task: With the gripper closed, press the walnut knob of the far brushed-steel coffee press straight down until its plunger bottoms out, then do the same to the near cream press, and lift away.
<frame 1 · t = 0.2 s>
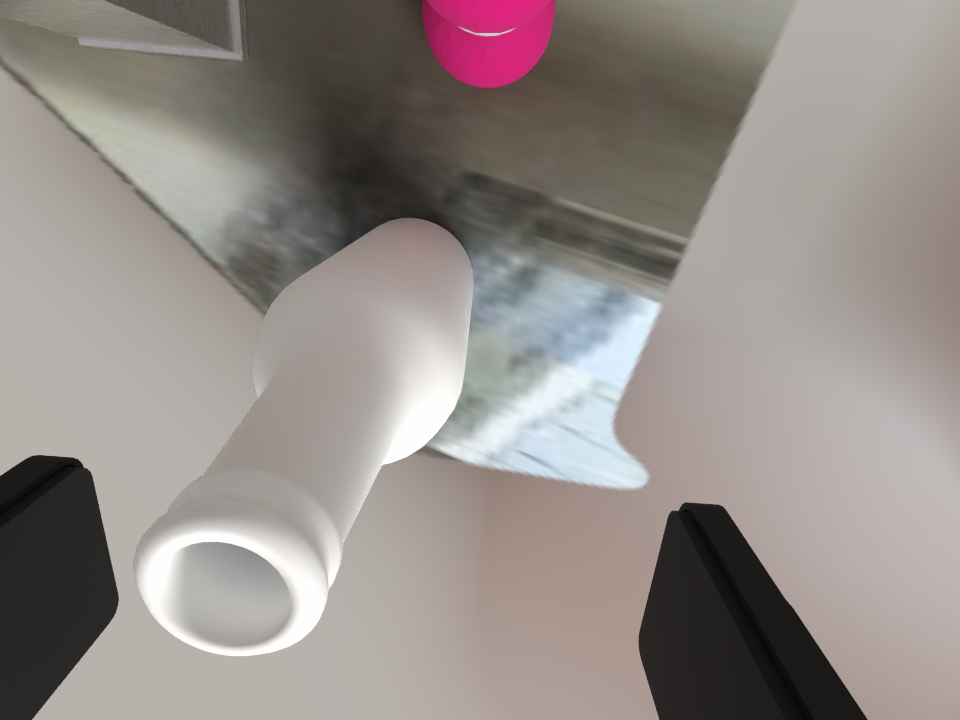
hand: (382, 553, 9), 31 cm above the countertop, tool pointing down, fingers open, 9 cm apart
alcohol: (413, 277, 39), on the countertop
pepper mill: (488, 31, 33), on the countertop
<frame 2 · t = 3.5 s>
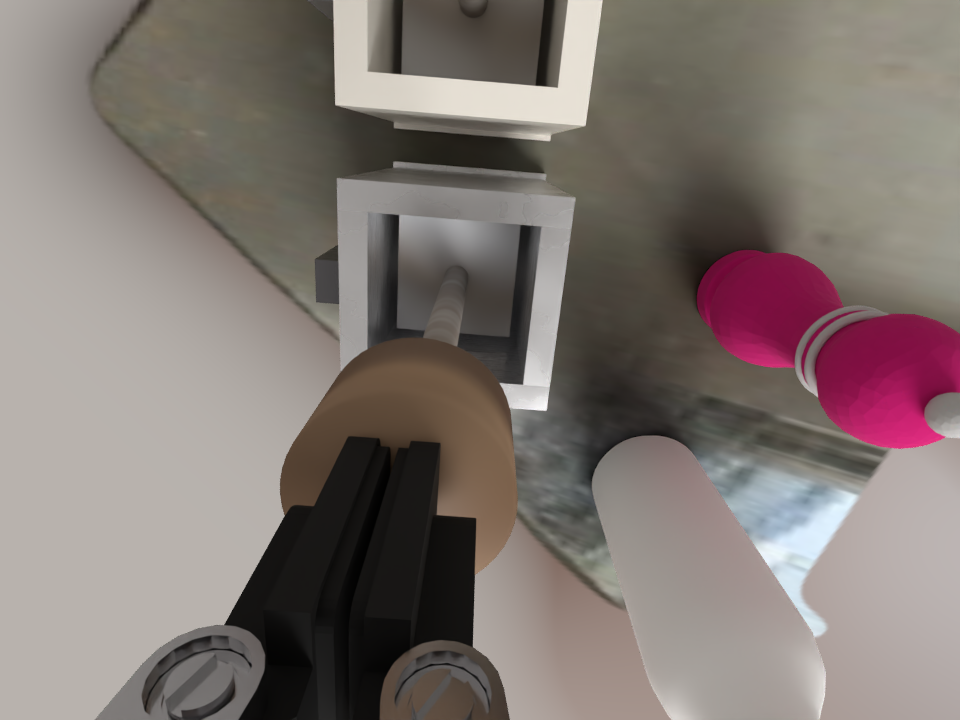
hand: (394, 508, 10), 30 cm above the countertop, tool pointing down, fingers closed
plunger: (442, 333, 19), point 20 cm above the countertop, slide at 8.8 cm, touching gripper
alcohol: (642, 475, 45), on the countertop
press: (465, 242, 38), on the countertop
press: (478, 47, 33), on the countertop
pepper mill: (738, 292, 39), on the countertop
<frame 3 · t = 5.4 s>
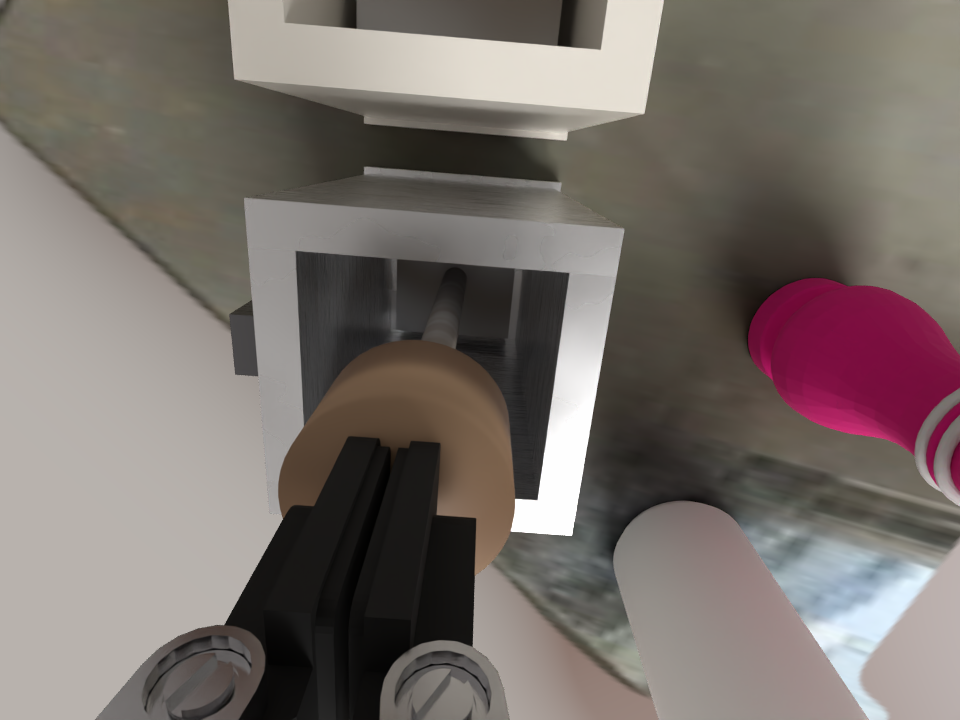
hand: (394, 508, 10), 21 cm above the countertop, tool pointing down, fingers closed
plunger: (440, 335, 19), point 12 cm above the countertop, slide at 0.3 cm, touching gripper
alcohol: (673, 545, 37), on the countertop
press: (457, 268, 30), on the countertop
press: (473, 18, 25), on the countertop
pepper mill: (799, 329, 31), on the countertop
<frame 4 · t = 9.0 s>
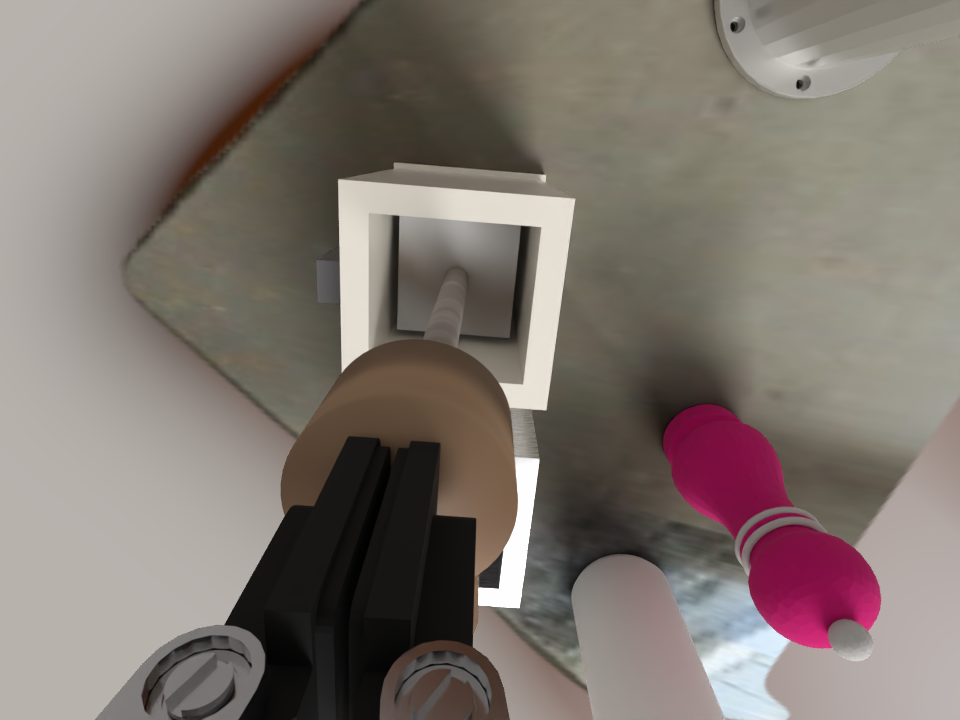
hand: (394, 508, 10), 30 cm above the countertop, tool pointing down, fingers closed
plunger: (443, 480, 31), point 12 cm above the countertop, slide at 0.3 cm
alcohol: (617, 585, 49), on the countertop
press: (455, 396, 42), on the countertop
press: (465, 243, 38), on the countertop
pepper mill: (700, 436, 43), on the countertop
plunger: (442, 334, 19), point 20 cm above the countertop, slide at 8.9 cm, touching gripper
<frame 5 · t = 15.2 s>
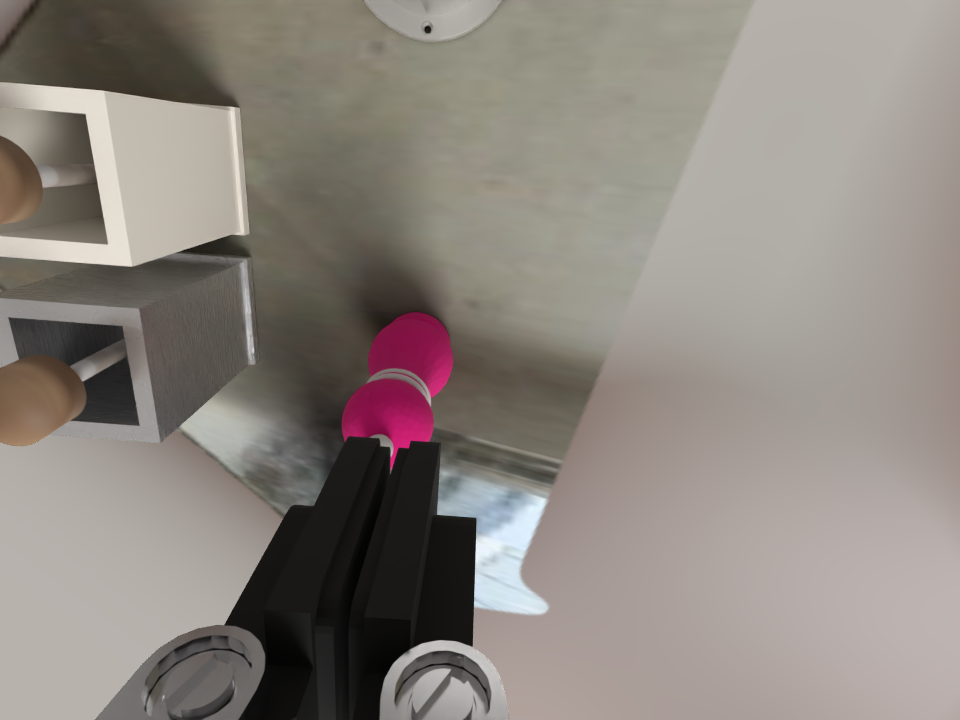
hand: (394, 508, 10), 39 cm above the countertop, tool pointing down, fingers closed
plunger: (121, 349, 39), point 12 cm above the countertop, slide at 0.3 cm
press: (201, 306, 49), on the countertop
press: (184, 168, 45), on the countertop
pepper mill: (417, 342, 50), on the countertop
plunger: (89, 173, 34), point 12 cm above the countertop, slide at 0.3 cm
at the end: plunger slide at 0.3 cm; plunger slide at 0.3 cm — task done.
